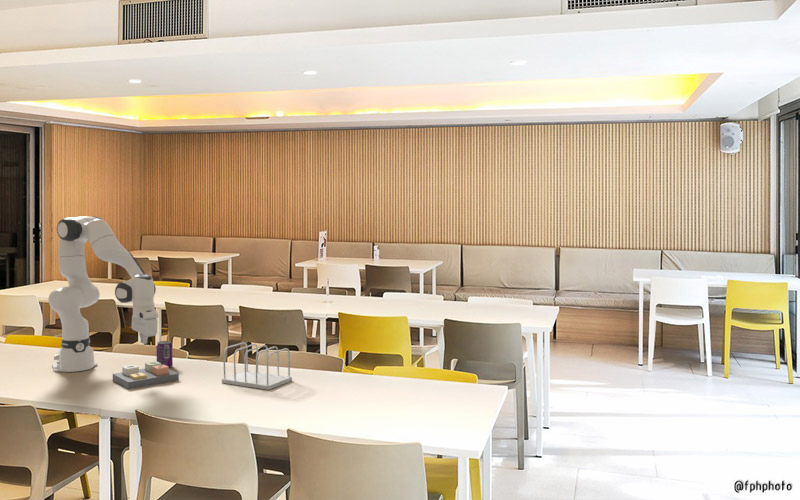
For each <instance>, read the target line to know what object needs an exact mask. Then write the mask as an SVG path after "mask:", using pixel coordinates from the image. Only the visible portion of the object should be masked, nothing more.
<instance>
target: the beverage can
mask: <svg viewBox="0 0 800 500" xmlns="http://www.w3.org/2000/svg"><path fill="white" fill-rule="evenodd" d="M156 344H157V345H156V361H157V362H159V363H161V365H166V366H168V367H169V369H170V368H171V367H172V366H173V363H174V362H173V344H172V341H170V340H161V341H157V343H156Z"/></svg>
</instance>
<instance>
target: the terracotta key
mask: <svg viewBox="0 0 800 500" xmlns="http://www.w3.org/2000/svg"><path fill="white" fill-rule="evenodd" d="M169 369H170V368H169V367H168V366H166V365H158V366H152V374H154V375H156V376H160V375H166V374H169Z"/></svg>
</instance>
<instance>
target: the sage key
mask: <svg viewBox="0 0 800 500" xmlns="http://www.w3.org/2000/svg"><path fill="white" fill-rule="evenodd" d="M158 365H161V363H159V362H157V360H156V361H150V362H144V369H145V370H146V371H148V372H152V366H158Z"/></svg>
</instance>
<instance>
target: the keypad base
mask: <svg viewBox="0 0 800 500" xmlns="http://www.w3.org/2000/svg"><path fill="white" fill-rule="evenodd" d="M139 373H143V374H145V375H146V378H143V379H137V380H133V379H131V378H130V376H126V375H124V374H122V372H114V373H112V381H113V382H115V383H117V384H118V385H120V386H122V387H124V388H126V389H127V390H131V389H137V388H143V387H149V386H155V385H160V384H165V383H171V382H176V381H179V379H180V373H178V372H176V371H174V370H172V369H170V368H169V374H166V375H160V376H156V375H154V374H152V372H148V371H146V370H145V368H139Z"/></svg>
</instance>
